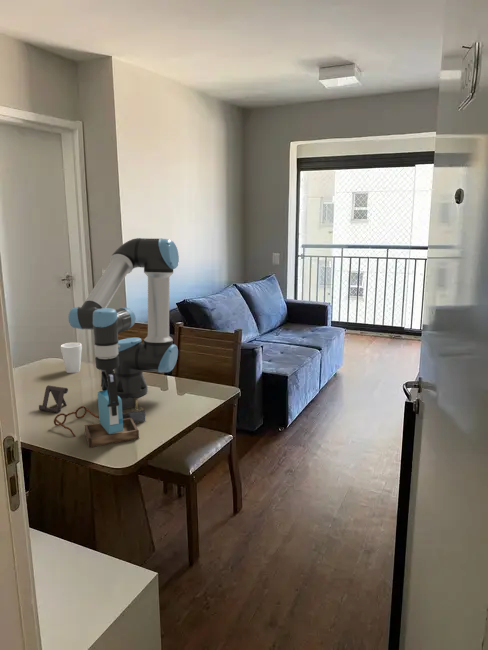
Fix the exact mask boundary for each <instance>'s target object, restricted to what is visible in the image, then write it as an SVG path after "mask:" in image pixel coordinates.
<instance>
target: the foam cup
mask: <svg viewBox="0 0 488 650" xmlns="http://www.w3.org/2000/svg"><path fill="white" fill-rule="evenodd" d="M82 350H83V345H82V343H81V342H66V343H63V344H61V345H60V352H61V355H62V358H63V363H64V368H65V373H68V374H75V373H79V372H80V371H81V365H82V364H81V363H82V362H81V361H82Z"/></svg>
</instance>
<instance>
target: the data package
mask: <svg viewBox="0 0 488 650" xmlns="http://www.w3.org/2000/svg"><path fill="white" fill-rule="evenodd" d="M118 402H119V406H118V418H119V424H113V425H110V416H109V407H107V405H108V404H109V398H108V392H107V390H104V391H102V390H99V391H98V392H97V404H98V407H97V408H98V416H99V418H98V419H99V423H100V424H101V425H102V426H103V427H104V429H105V430H106V431H107V432H108V433H109V434H113V433H117V432H121V431H123V417H122V413H123V409H122V401H121V398H120V397H119V396H118ZM112 403H113V402H112Z"/></svg>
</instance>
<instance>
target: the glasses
mask: <svg viewBox="0 0 488 650" xmlns="http://www.w3.org/2000/svg"><path fill="white" fill-rule="evenodd" d="M81 409H84V413H83V414H82V415H80V416H78V411H80V410H81ZM87 413H89V414H90V415H92V416H93V417H95V418H96V419H99V415H96V414H95V413H93V412H92V411H91V410H89V409H88V408H87V406H84V405H83V406H79V407H78V408H77V409H76V410H75V411H72V412H69V413H67V414H66V413H63V412H62V413H61V412H60V413H58V414H57V415H56V416H55V417H54V419H53V424H54V426H56V427H59V426H61V427H63V429H66V430H68V431H69V432H70V433H71V435H72V436H73V437H77V436H76V434H75V432H74V431H73V430H72V429H71V428H70V427H68V426H66V425H64V424H65V422H66V421H67V417H68V416H71V415H75V418H76V419H77V420H78V419H82V418H84V417H85V416H86V414H87ZM60 416H64V417H63V418H64V419H63V421H62V422H61V421H59V420H58V418H59V417H60Z"/></svg>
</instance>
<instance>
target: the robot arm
mask: <svg viewBox="0 0 488 650" xmlns="http://www.w3.org/2000/svg"><path fill="white" fill-rule="evenodd" d="M179 258H180V255H179V250H178V247H177V245H176V243H175V242H174V240H172V239H169V238H141V237H137V238H132V239H129V240H128V241H126V242H124V243H122V244H121V245H120V246H119V247H118V248H116V249H115V251H114V252H113V253H112V254H111V256H110V257H109V264H108V266H107V267H106V268H105V270H104V271H103V273H102V275H101V276H100V278H99V280H98V281H97V282H96V284H95V286H93V289H92V290H91V292H90V293H89V295H88V296H87V297H86V298H85V301H84V302H83V304H82V305H81V306H75V307H73V308H71V309H70V311H69V312H68V320H67V321H68V323H69V325H70V326H71V328H74V329H79V330H93V337H94V338H93V339H94V343H93V344H94V356H95V368H96V369H97V370H100V371H101V374H100V375H101V376H100V377H101V379H100V383H101V385H100V387H101V391H104V390H107V392H108V398H109V404H108V405H107V407H109V416H110V425H113V424H119V418H118V406H119V402H118V396H119V397H120V398H126V397H133V396H136V398H139V397H143V396H144V395H146V394H148V384H147V381H146V380H145V376H144V374H143V372H144V371H145V372H154V373H159V374H161V373H170V372H171V371H173V369H174V368H175V366H176V364H177V362H178V361H177V360H178V356H179V349H178V346H177V345H176V344H175V343H173V342H174V340H173V337H171V336H170V277H171V276H172V275H173V274H174V269H177V268H178V266H179V263H180V261H179V260H180V259H179ZM137 268H142V269H143V273H144V275H146V277H147V336H146V337H145V338H143V341H142V338H140V337H127V338H123V339H119V334H120V333H122V332H125V331H127V330H129V329H130V328H132V327H133V326H134V325H135V324H136V321H137V320H136V314H135V312H134V311H133V310H132V309H131V308H128V307H119V308H118V309H115V308H112V307H110V308H109V307H108V306H109V304H110V303H111V301H112V300H113V299H114V296H115V294H116V293H117V291H118V289H119V288H120V286H121V284H122V282H123V281H124V279H125V278H126V276H127V275H128V274H131V273H132V272H133V270H134V269H137ZM112 402H113V403H112Z"/></svg>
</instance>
